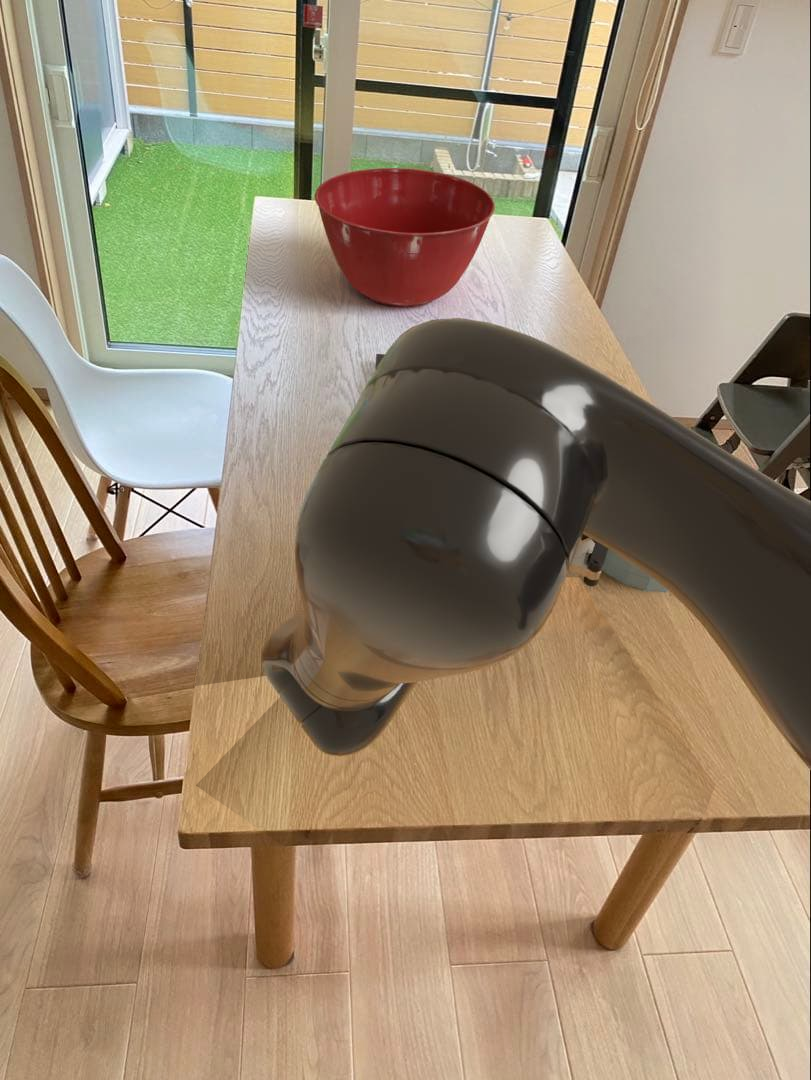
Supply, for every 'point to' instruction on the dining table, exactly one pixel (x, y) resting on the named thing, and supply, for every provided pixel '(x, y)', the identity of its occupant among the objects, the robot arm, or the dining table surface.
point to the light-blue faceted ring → (629, 573)
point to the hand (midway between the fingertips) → (598, 493)
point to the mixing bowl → (403, 231)
